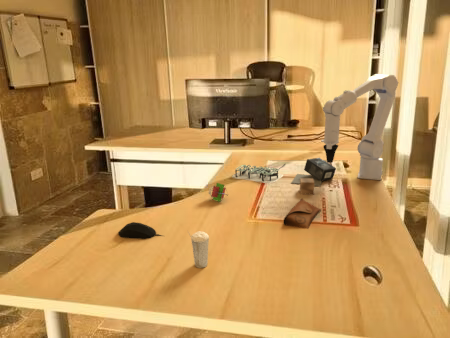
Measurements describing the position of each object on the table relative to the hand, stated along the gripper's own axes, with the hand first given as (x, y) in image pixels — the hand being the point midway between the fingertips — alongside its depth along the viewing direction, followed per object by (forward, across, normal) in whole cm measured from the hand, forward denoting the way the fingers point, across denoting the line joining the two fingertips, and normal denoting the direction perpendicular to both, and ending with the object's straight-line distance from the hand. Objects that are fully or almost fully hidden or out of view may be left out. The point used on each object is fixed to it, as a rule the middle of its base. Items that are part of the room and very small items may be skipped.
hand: (329, 162), depth 159 cm
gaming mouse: (+10, +68, -49) cm, 85 cm away
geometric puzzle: (+9, +34, -37) cm, 51 cm away
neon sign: (+10, -6, -30) cm, 33 cm away
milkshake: (+9, +79, -24) cm, 83 cm away
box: (+6, -1, 0) cm, 6 cm away
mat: (+9, 0, -9) cm, 13 cm away
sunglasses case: (+10, +39, -4) cm, 41 cm away
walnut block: (+9, +15, -7) cm, 19 cm away
